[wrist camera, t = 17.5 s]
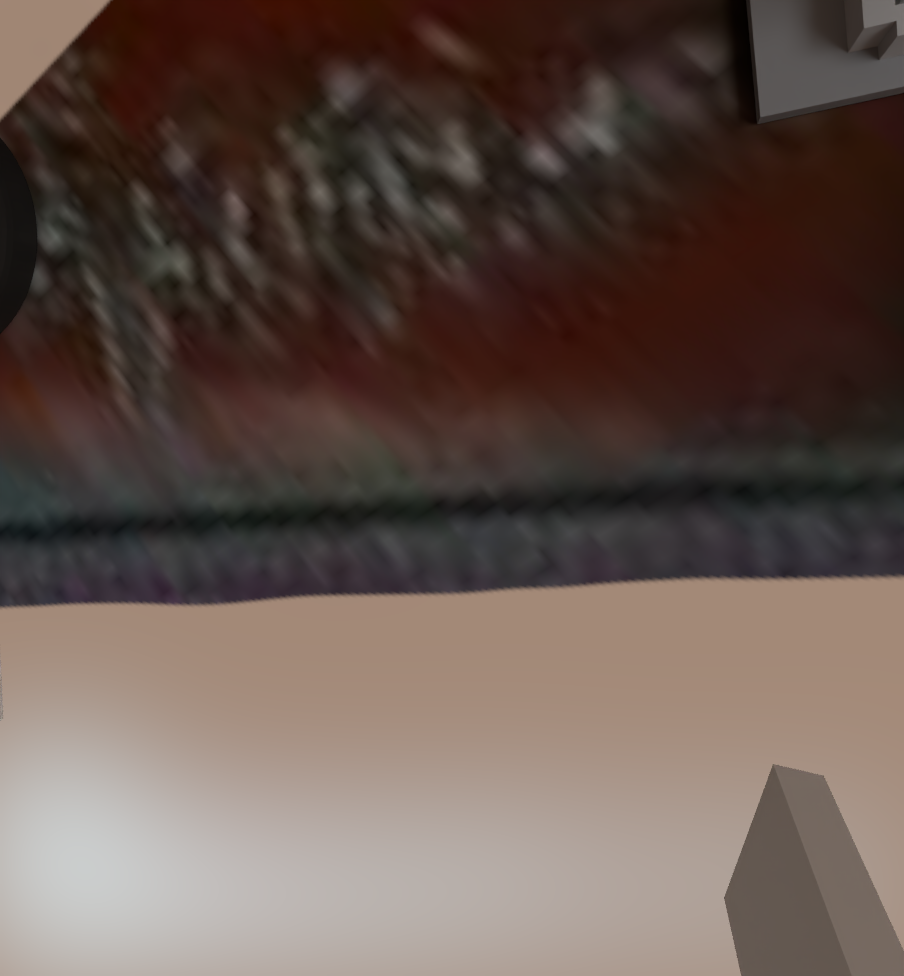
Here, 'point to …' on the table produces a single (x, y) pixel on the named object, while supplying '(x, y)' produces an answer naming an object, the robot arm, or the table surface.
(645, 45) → the table surface
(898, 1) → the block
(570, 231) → the table surface
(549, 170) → the table surface
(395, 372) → the table surface
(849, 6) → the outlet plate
